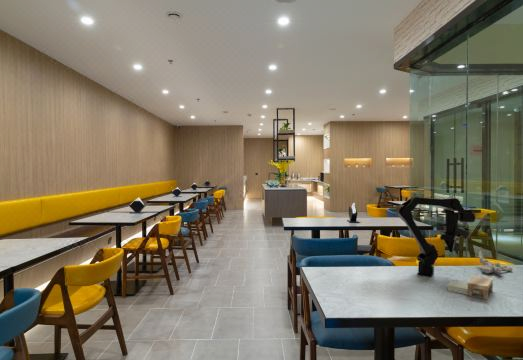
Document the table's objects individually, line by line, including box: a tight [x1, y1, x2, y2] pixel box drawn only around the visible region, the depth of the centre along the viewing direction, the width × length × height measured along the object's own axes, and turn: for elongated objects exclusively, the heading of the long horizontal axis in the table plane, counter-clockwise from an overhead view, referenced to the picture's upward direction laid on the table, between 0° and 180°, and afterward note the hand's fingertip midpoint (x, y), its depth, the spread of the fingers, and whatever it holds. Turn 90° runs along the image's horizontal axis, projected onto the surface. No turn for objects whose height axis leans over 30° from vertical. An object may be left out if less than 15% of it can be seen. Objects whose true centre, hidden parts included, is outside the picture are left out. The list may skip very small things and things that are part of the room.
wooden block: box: [466, 275, 494, 301], centre depth 142 cm, size 7×15×6 cm, turn 138°
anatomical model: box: [477, 250, 513, 275], centre depth 180 cm, size 19×8×20 cm
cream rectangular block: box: [447, 280, 483, 295], centre depth 145 cm, size 13×10×2 cm
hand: (451, 252), depth 169 cm, fingers closed
